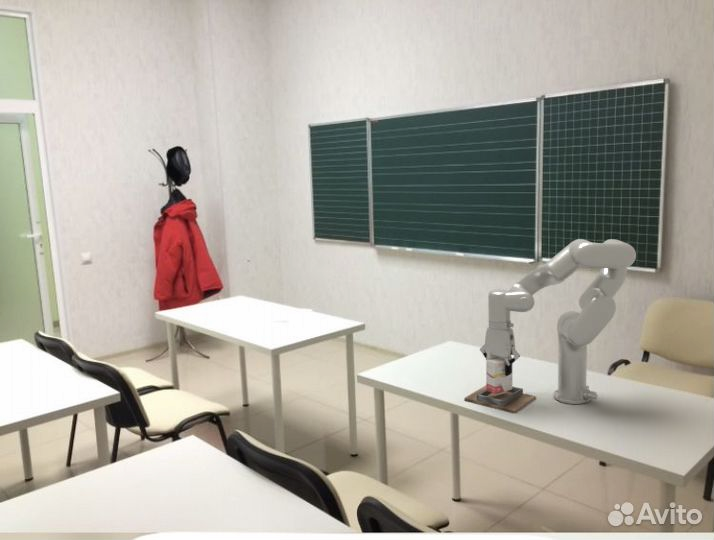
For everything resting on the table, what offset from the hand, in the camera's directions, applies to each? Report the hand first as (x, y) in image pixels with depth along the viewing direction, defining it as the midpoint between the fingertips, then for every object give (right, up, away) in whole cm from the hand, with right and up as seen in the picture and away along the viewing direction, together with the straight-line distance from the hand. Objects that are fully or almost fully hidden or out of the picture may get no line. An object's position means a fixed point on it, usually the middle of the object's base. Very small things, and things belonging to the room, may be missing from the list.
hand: (499, 372), depth 220 cm
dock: (+1, -10, +2) cm, 10 cm away
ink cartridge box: (0, -7, +1) cm, 7 cm away
